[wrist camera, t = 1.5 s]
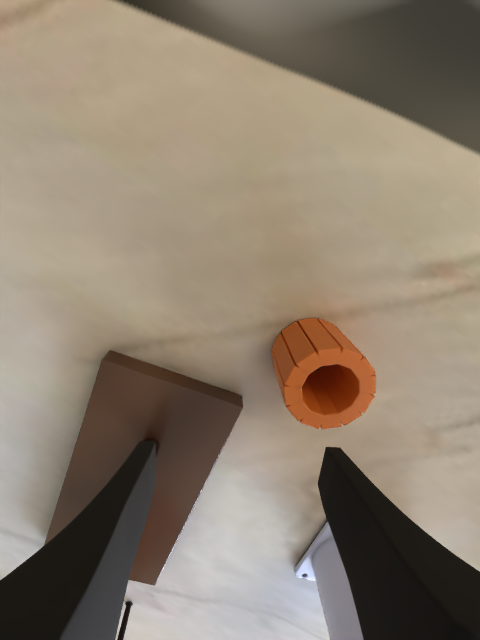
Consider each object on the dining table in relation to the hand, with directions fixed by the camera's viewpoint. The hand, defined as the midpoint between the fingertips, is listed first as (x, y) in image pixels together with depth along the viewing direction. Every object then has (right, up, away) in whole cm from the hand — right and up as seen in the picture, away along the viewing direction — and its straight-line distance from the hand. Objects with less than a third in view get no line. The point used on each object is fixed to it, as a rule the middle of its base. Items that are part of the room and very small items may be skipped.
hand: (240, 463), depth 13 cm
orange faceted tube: (+5, +4, +9) cm, 11 cm away
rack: (-8, -7, +12) cm, 16 cm away
